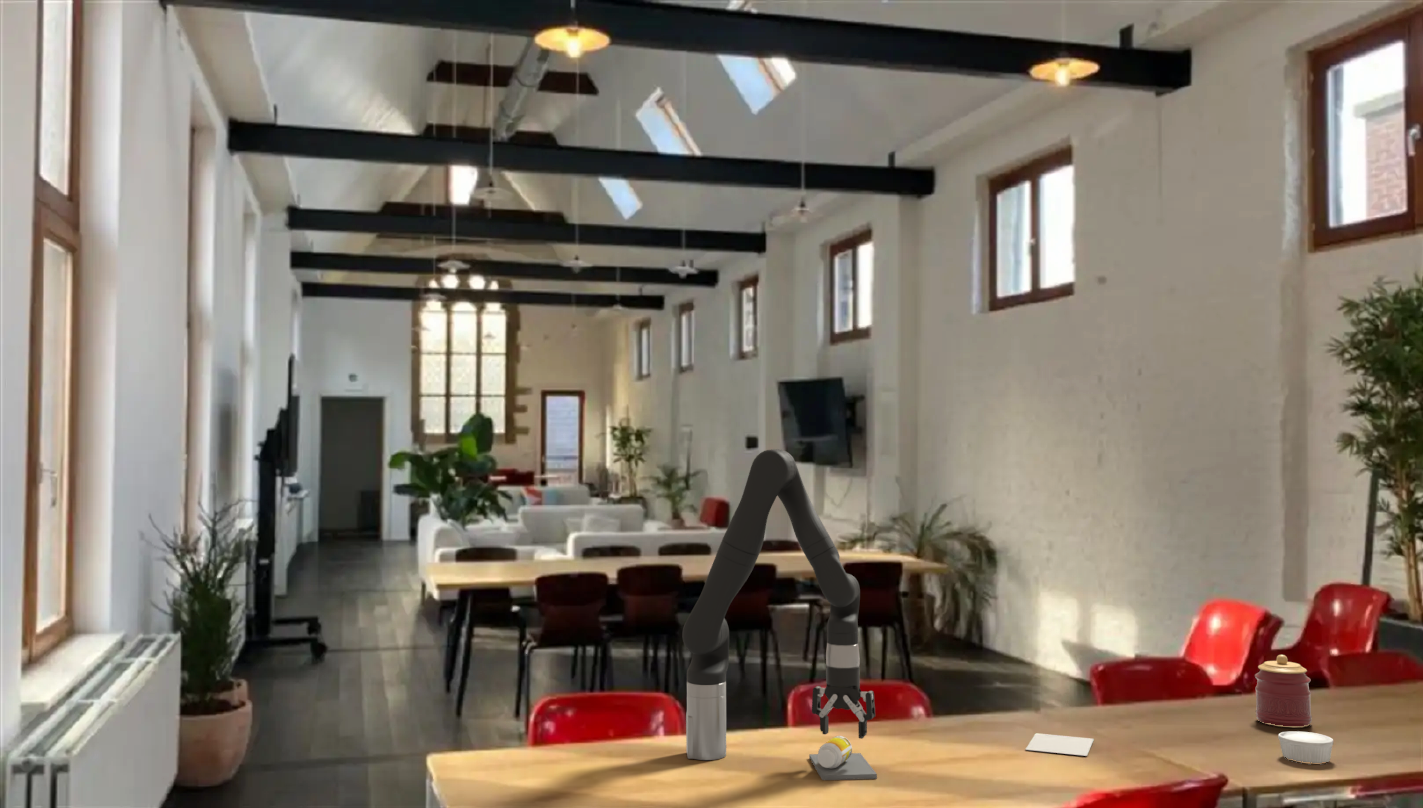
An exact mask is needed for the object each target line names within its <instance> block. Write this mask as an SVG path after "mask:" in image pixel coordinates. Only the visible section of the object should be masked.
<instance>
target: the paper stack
mask: <svg viewBox="0 0 1423 808" xmlns="http://www.w3.org/2000/svg"><path fill="white" fill-rule="evenodd" d="M1094 740H1095V739H1094V738H1089V737H1082V736H1081V737H1079V736H1068V735H1061V734H1060V735H1059V734H1050V733H1049V734H1047V733H1037V732H1036V733H1035V734H1033V737H1032V738H1031V740H1030V741H1029V743H1028V745H1027V746H1026V747H1025V750H1026V751H1035V752H1044V753H1055V754H1056V753H1057V754H1065V755H1075V756H1085V757H1086V756H1087V757H1088V754H1089V752H1090V750H1091V748H1092V745H1093V743H1094Z"/></svg>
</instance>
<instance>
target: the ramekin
mask: <svg viewBox="0 0 1423 808" xmlns="http://www.w3.org/2000/svg"><path fill="white" fill-rule="evenodd" d="M1277 736H1278V737H1277V738H1278V740H1279V744H1280V749H1281V753H1282V756H1283V757H1284V758H1285V757H1286V758H1288V759H1293V760H1296V761H1301V762H1302V761H1303V762H1310V763H1311V762H1312V763H1322V762H1328V763H1329V762H1330V760H1331V757H1332V755H1331V754H1332V749H1333V745H1334V739H1333V738H1332V737H1330V736H1328V735H1325V734H1321V733H1316V732H1311V731H1310V732H1308V731H1299V730H1297V731H1282V732H1280V733H1278V735H1277ZM1286 758H1285V759H1286Z"/></svg>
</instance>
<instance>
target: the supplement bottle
mask: <svg viewBox="0 0 1423 808" xmlns="http://www.w3.org/2000/svg"><path fill="white" fill-rule="evenodd" d="M851 753H853V746H852V744H851V742H850V740H849V739H848V738H847V737H845V736H843V735H836V736H834V737H832V738H831V739H829V740H828V741H827V742H826V741H825V743H824V744H822V745H821V746H820V747H819V749H818V752H817V754H818V761H819V763H820V765H821V766H823V767H825V768H829V769H833V768H836V767H838V766H839V765H840V764H842V763H843V762H844V761H846V760H847V759H848V758H849V757H850V756H851Z"/></svg>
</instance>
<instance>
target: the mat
mask: <svg viewBox="0 0 1423 808" xmlns="http://www.w3.org/2000/svg"><path fill="white" fill-rule="evenodd" d="M808 756H809V757H808V759H809V760H810V759H811V761H812V762H811V761H810V762H811V764H812V763H813V764H812V765H814V766H815V767H814V766H813V767H814V769H815V770H817V771H816V772H817V774H818V776H819V777H820V779H821V780H822V781H839V780H840V781H843V780H846V781H847V780H872V779H873V780H875V779H878V773H877V772H876V771H875V770H874V769H873V767H872V766H871V765H870V764H869V762H868V761H867V760H866V758H865V757H864V756H863V754H862V753H860V752H857V753H856V752H852V753H851V756H850V757H849V758H848V759H847V760H846V761H844V762H843V763H842V764H840V765H839V766H838V767H836V768H833V769H829V768H825V767H823V766H821V765H820V763H819V761H818V753H811V754H809V755H808Z"/></svg>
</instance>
